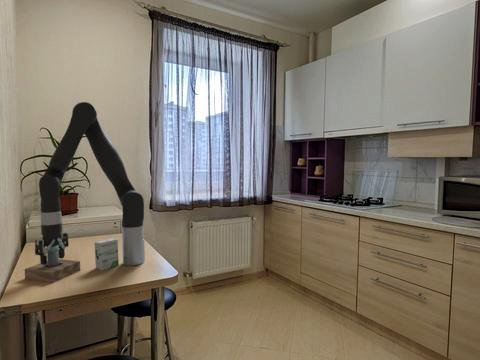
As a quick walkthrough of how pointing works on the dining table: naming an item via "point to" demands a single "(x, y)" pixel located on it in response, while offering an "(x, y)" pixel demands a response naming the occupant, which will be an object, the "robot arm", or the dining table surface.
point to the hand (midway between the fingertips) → (53, 261)
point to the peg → (53, 257)
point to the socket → (52, 271)
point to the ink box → (106, 254)
